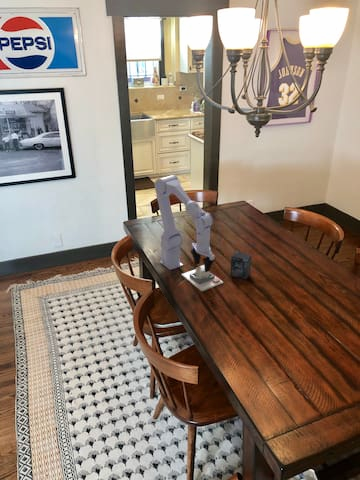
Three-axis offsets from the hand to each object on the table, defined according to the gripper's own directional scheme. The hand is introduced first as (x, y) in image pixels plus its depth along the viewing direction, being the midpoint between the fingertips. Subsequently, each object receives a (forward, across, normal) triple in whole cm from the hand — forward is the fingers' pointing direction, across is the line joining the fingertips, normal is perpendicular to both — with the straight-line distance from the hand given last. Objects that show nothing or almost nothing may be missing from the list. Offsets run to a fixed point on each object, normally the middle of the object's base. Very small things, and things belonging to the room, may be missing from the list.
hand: (202, 267), depth 167 cm
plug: (+5, 0, 0) cm, 5 cm away
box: (+6, -7, -17) cm, 20 cm away
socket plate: (+6, 0, 0) cm, 6 cm away
